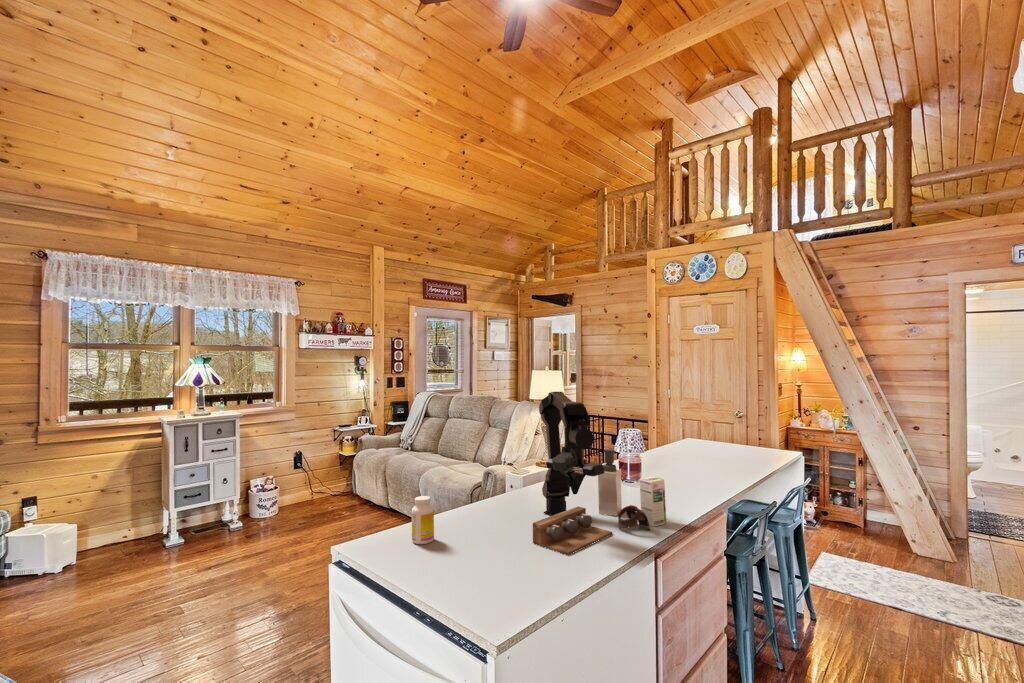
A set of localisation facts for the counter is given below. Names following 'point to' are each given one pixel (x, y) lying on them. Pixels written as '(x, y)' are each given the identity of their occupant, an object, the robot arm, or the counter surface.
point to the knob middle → (570, 526)
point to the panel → (568, 540)
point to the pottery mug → (632, 517)
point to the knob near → (555, 532)
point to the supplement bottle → (422, 521)
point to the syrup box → (653, 500)
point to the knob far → (583, 520)
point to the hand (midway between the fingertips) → (575, 494)
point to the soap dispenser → (609, 486)
